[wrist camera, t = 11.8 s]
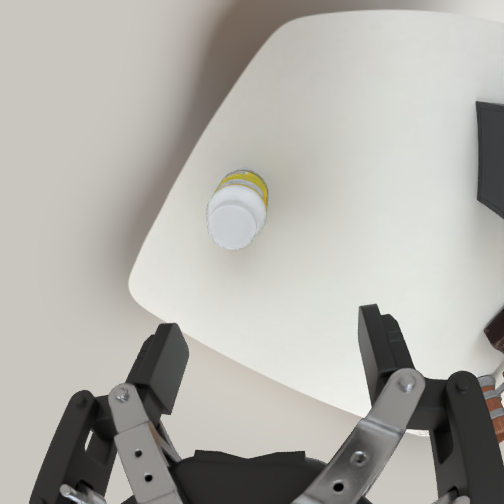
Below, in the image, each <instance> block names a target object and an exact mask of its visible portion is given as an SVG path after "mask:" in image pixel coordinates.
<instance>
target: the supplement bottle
mask: <svg viewBox="0 0 504 504" xmlns="http://www.w3.org/2000/svg"><path fill="white" fill-rule="evenodd" d="M267 202H268V189H267V186H266V183H265V182H264V180H263V179H262V178H261V177H260V176H259V175H258V174H256V173H255V172H253V171H250V170H236V171H233V172H231V173H229V174H228V175H227V176H225V178H224V179H223V180H222V181H221V183H220V185H219V186H218V188H217V189H216V191H215V193H214V194H213V196H212V197H211V199H210V201H209V203H208V205H207V210H206V217H207V222H208V225H207V228H208V233H209V235H210V237H211V239H212V240H213V241H214V242H215V243H216V244H217V245H218V246H220V247H222V248H224V249H228V250H238V249H242V248H244V247H246V246H247V245H249V244H250V243H251V242H252V240H253V239H254V237H255V236H257V235H258V234H259V233H260V231H261V230H262V228H263V226H264V224H265V220H266V213H267Z"/></svg>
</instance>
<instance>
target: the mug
mask: <svg viewBox="0 0 504 504" xmlns="http://www.w3.org/2000/svg"><path fill="white" fill-rule="evenodd" d="M503 377H504V372H503ZM477 379H478V381H479V384H480V386H481V389H482V392H483V395H484V397H485V400H486V403H487V406H488V409H489V413H490V416H491V419H492V422H493V426H494V429H495V433H496V436H497V440H498V444H499V443H500V442H502V441H503V440H504V408H503V406H502V404H501V400H502V398H501V395H500V394H501V393H502V392H503V391H504V383H502V384H501V385H500V386H499V387H498V388H497V389H496V390H495V378H494V377H492V376H483V377H479V378H477Z"/></svg>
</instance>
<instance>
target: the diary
mask: <svg viewBox="0 0 504 504" xmlns="http://www.w3.org/2000/svg"><path fill="white" fill-rule="evenodd" d="M484 332H485V334H486V336H487V338H488V340H489V341H490V343H491V344H492V346H493V347H494V348H495V349H497V350H499V351H501V352H502V353H504V310H503V311H502V312H501V314H500V315H499V316H498V317H497V318H496V319H495V320H494V321H493V322H492V323H491V324H490V326H489V327H488V328H487V329H486V330H485V331H484Z"/></svg>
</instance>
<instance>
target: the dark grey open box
mask: <svg viewBox="0 0 504 504" xmlns="http://www.w3.org/2000/svg"><path fill="white" fill-rule="evenodd" d="M476 106H477V119H478V139H479V175H478V195H477V200H478V201H479V202H481V203H482V204H484V205H485V206H487V207H488V208H489V209H491V210H492V211H493V212H495V213H496V214H498V215H499V216H500V217H502V218H503V219H504V104H497V103H488V102H476Z"/></svg>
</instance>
